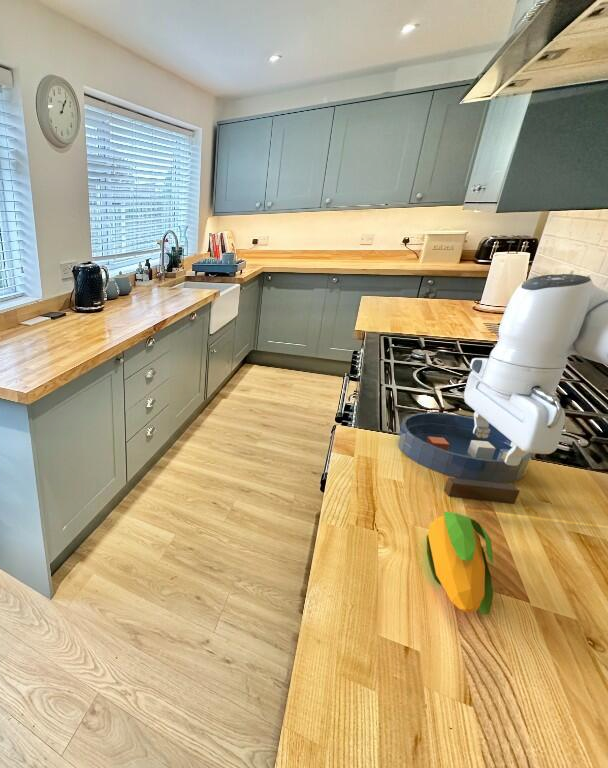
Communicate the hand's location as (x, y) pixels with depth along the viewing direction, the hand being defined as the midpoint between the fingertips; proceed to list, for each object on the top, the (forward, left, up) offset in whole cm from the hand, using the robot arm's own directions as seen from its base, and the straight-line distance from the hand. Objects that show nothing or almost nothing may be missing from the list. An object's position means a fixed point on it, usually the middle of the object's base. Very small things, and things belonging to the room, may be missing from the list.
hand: (493, 448), depth 74 cm
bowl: (-3, -16, -11) cm, 20 cm away
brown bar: (0, 0, -11) cm, 11 cm away
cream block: (-7, -16, -10) cm, 20 cm away
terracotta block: (+1, -16, -10) cm, 19 cm away
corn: (+12, +22, -11) cm, 27 cm away
